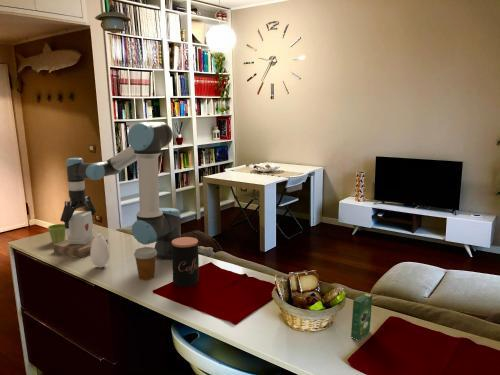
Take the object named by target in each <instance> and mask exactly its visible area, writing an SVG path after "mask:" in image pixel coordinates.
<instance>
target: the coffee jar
mask: <svg viewBox="0 0 500 375" xmlns="http://www.w3.org/2000/svg"><path fill="white" fill-rule="evenodd" d="M198 243H199V240H198V238H196V237H191V236H181V237H180V238H176V239H174V240H172V245H173V246H172V259H171V267H172V270H171V271H172V282H173V284H174V286H176V285H177V287H179V286H180V288H190V286H191V287H193V285H194V286H196V285H195V284H198V282H199V280H200V278H199V277H200V272H199V271H200V270H199V268H200V266H199V265H200V264H199V263H200V262H199V259H200V258H199V245H198Z"/></svg>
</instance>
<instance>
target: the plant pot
mask: <svg viewBox="0 0 500 375" xmlns="http://www.w3.org/2000/svg"><path fill="white" fill-rule="evenodd" d="M47 231H48V232H49V236H50V239H51V243H52V244H53V245H54V244H56V243H59V242H62V241H65V240H66V228H65V223H56V224H55V223H54V224H52V225H49V226H47Z"/></svg>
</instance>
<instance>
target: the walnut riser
mask: <svg viewBox="0 0 500 375" xmlns="http://www.w3.org/2000/svg"><path fill="white" fill-rule="evenodd" d="M95 237H96V236H93V240H94V238H95ZM104 239H105V241H106V242H107V245H108V246H109V240H108V239H107V238H104ZM93 240H91V241H90V242H88V243H87V244H85V245H84V244H69V243H68V239H65V241H62V242H59V243H56V244H54V243H53V244H52V245H53V253H56V254H59V255H65V256H70V257H75V258H78V259H82V258H85V257H87V256H88V255H89V256H90V255H91V254H90V251H91V245H92V242H93Z"/></svg>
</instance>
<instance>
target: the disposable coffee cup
mask: <svg viewBox="0 0 500 375" xmlns="http://www.w3.org/2000/svg"><path fill="white" fill-rule="evenodd" d="M156 255H157V251H156V249H155V247H152V246H151V247H150V246H146V247H145V246H144V247H140V248H136V249H135V251H134V253H133V256H134V258H135V264H136V267H137V269H136V270H137V273H138V278H139V280H142V281H149V280H153V279H154V278H155V272H156V271H155V270H156V261H157V258H156Z"/></svg>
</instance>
